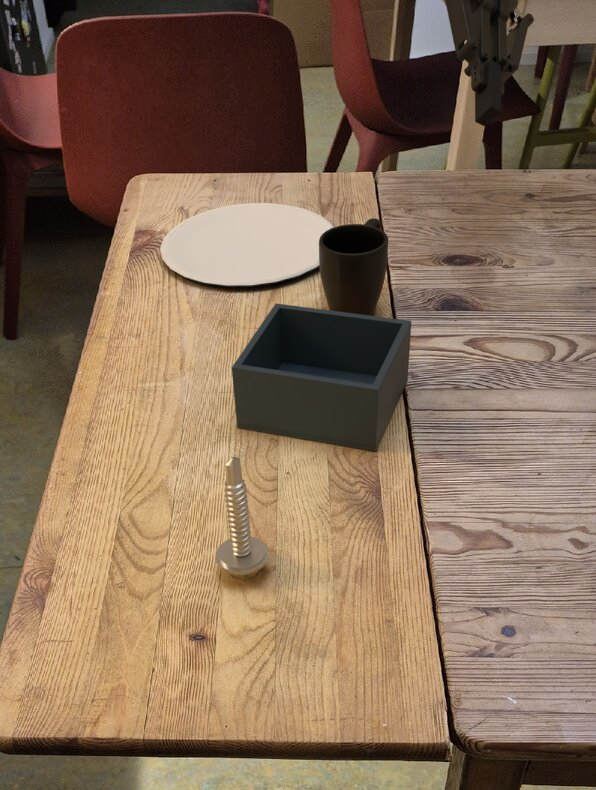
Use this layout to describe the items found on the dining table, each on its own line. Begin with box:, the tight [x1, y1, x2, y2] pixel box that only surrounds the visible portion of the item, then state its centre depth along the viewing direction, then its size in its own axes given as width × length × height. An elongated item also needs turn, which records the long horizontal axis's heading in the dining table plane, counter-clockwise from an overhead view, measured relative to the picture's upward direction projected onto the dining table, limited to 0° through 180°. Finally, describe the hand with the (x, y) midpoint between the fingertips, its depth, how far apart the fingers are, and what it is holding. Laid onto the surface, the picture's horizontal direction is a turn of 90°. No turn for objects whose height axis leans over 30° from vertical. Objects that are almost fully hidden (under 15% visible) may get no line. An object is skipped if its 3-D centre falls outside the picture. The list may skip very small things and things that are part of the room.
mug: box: [318, 217, 389, 316], centre depth 114 cm, size 8×12×10 cm
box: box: [231, 303, 412, 452], centre depth 100 cm, size 14×16×8 cm
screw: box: [215, 456, 270, 581], centre depth 81 cm, size 13×5×5 cm
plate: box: [159, 202, 335, 288], centre depth 130 cm, size 25×25×1 cm
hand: (487, 116), depth 106 cm, fingers closed
